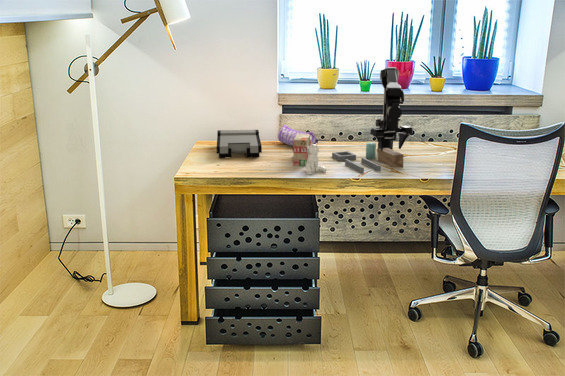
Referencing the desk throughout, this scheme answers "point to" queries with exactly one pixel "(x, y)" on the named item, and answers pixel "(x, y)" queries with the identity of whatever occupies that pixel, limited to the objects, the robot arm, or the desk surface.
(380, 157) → the block
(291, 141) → the pencil case
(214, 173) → the desk surface
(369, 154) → the nose cylinder
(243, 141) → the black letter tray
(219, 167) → the desk surface
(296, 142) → the stack of blocks
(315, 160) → the sitting furry creature
